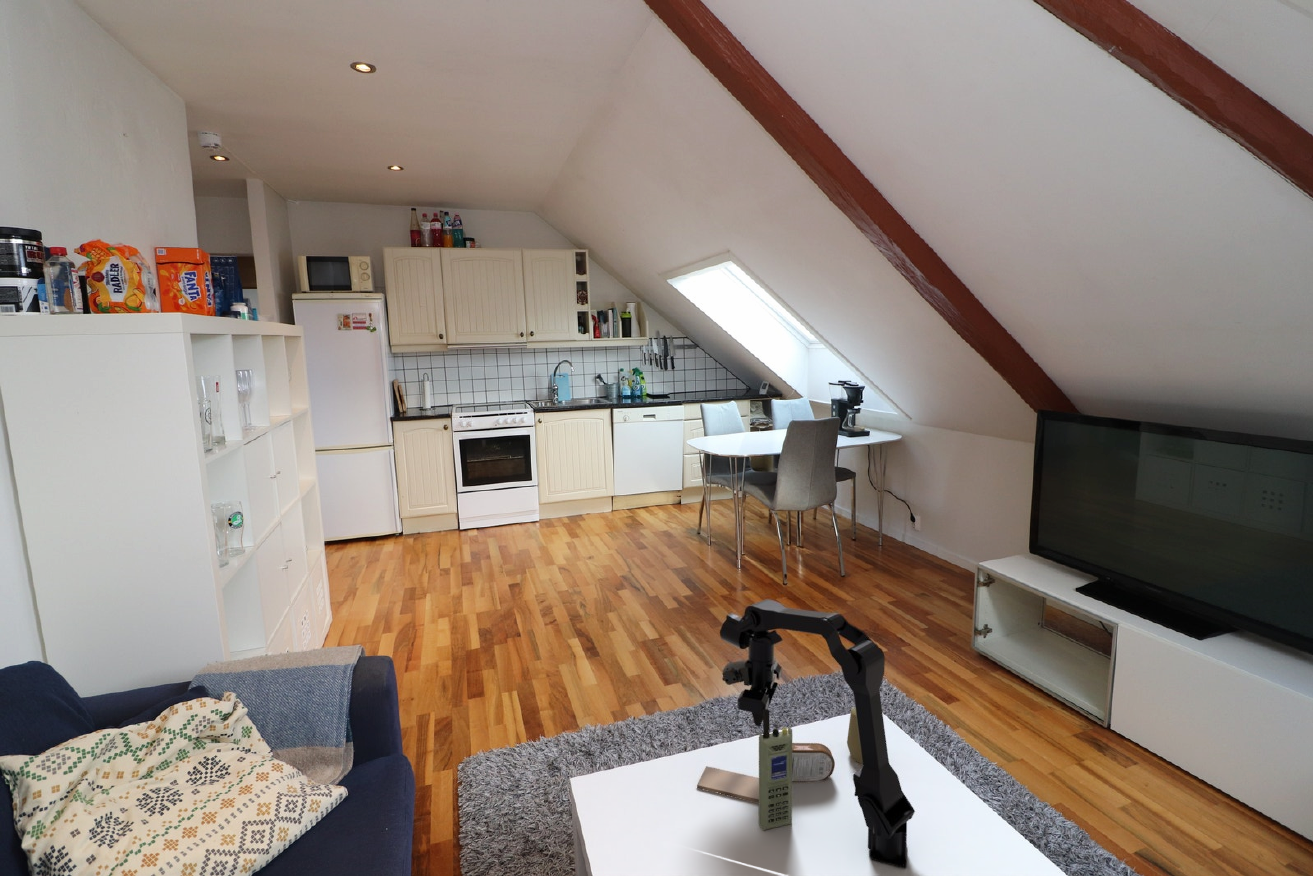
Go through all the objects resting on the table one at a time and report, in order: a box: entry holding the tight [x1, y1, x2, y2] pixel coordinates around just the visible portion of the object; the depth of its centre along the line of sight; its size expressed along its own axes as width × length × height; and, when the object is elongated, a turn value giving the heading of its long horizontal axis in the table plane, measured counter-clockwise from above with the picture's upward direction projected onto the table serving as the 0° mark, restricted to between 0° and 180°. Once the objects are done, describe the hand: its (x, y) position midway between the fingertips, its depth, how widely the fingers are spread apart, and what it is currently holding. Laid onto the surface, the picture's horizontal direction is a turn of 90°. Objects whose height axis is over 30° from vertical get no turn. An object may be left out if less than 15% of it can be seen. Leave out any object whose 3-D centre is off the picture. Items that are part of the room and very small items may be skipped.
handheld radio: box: [758, 708, 793, 831], centre depth 128 cm, size 7×3×25 cm, turn 105°
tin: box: [792, 742, 836, 784], centre depth 141 cm, size 15×3×8 cm, turn 94°
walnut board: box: [696, 765, 759, 804], centre depth 140 cm, size 16×7×1 cm, turn 69°
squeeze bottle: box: [846, 706, 863, 765], centre depth 148 cm, size 8×8×18 cm
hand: (759, 720), depth 144 cm, fingers open, 4 cm apart
